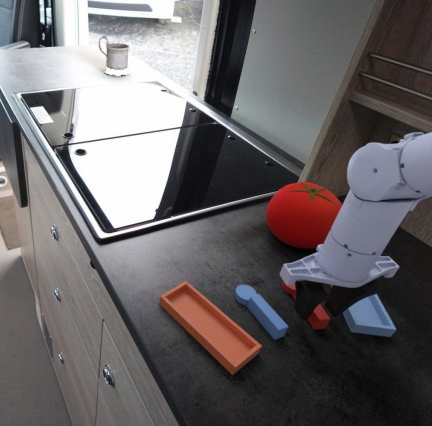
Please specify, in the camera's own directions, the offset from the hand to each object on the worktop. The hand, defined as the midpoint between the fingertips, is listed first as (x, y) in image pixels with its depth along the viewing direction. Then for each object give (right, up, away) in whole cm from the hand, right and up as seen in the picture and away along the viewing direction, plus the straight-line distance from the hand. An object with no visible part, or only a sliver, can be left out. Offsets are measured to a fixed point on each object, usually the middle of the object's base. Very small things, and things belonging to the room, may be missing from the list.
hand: (315, 312), depth 52 cm
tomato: (+4, +9, +15) cm, 18 cm away
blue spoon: (-8, 0, +2) cm, 8 cm away
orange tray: (-16, -2, -1) cm, 16 cm away
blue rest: (+8, +1, +4) cm, 9 cm away
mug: (-28, +69, +93) cm, 120 cm away
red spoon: (0, +1, +3) cm, 3 cm away
